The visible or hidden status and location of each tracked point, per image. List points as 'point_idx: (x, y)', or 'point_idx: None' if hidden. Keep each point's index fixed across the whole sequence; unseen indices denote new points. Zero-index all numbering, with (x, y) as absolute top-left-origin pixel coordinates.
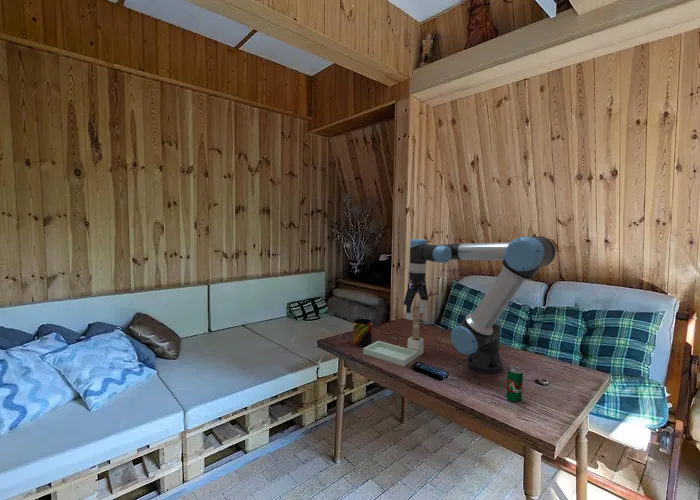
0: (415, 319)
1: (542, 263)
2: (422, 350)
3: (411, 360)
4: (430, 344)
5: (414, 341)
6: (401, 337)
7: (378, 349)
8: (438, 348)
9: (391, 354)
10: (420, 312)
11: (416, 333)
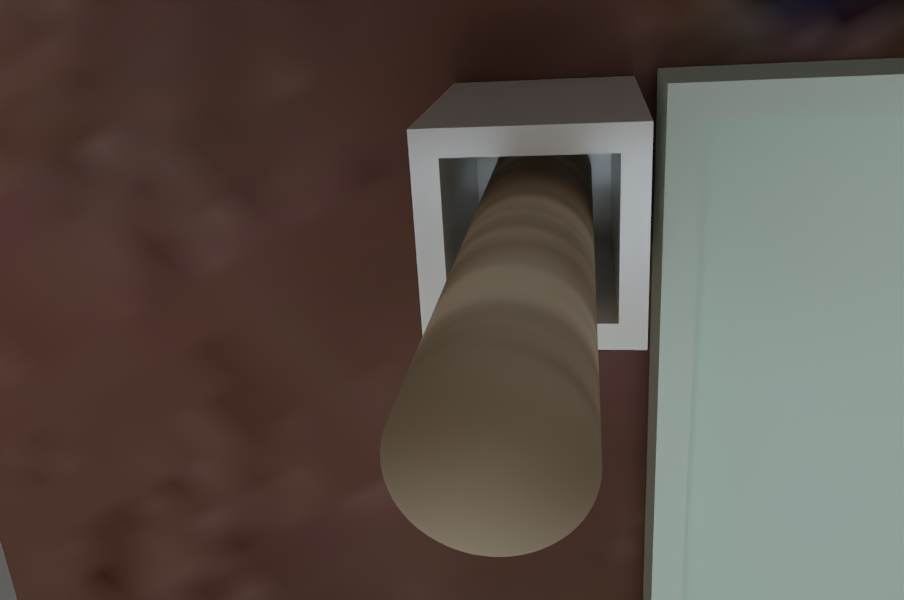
0: (591, 449)
1: None
2: (476, 91)
3: (879, 63)
4: (53, 186)
5: (649, 203)
6: (152, 574)
7: (763, 598)
8: (86, 20)
9: (820, 401)
10: (5, 578)
11: (578, 245)
